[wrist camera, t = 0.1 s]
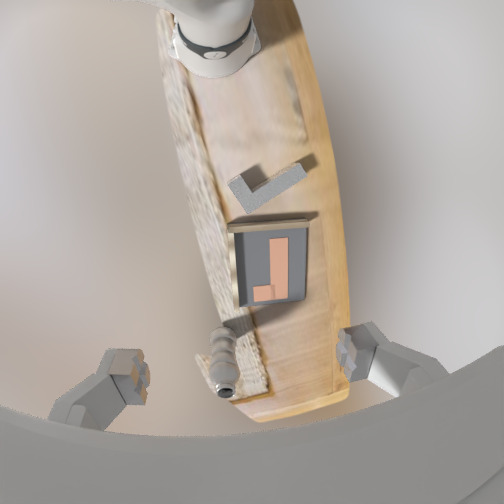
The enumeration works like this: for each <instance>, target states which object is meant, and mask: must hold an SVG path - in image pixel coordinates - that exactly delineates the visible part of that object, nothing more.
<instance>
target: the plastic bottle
mask: <svg viewBox="0 0 504 504" xmlns="http://www.w3.org/2000/svg"><path fill="white" fill-rule="evenodd" d="M236 341H237V338H236V335H235V333H234V331H233V330H231V329H230V328H227V327H219V328H216V329H215V330H213V331H212V333H211V335H210V339H209V342H210V346H211V351H212V359H211V366H210V370H209V377H210V380H211V381H212V383H213V384H214V385H216V391H217V395H218V396H219V397H221V398H231V397H233V396H234V395H235V384H236V383H237V381H238V380H239V377H240V371H239V367H238V364H237V361H236V355H235V347H236Z"/></svg>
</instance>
